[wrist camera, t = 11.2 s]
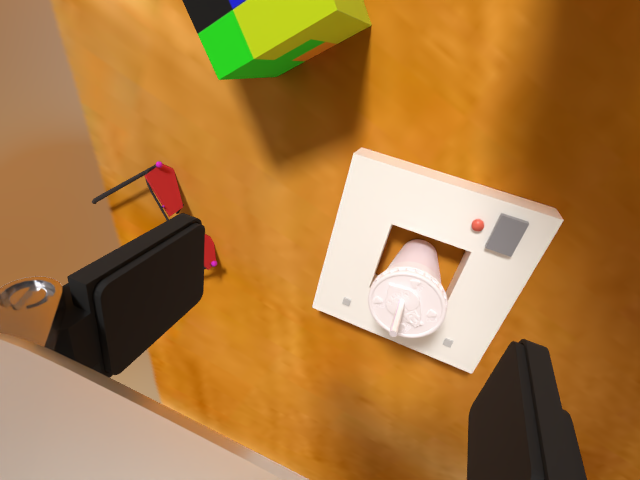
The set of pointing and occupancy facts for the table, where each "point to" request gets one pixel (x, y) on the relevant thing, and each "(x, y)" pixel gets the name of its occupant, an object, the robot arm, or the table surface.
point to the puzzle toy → (271, 32)
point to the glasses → (166, 199)
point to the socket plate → (443, 225)
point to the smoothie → (410, 293)
